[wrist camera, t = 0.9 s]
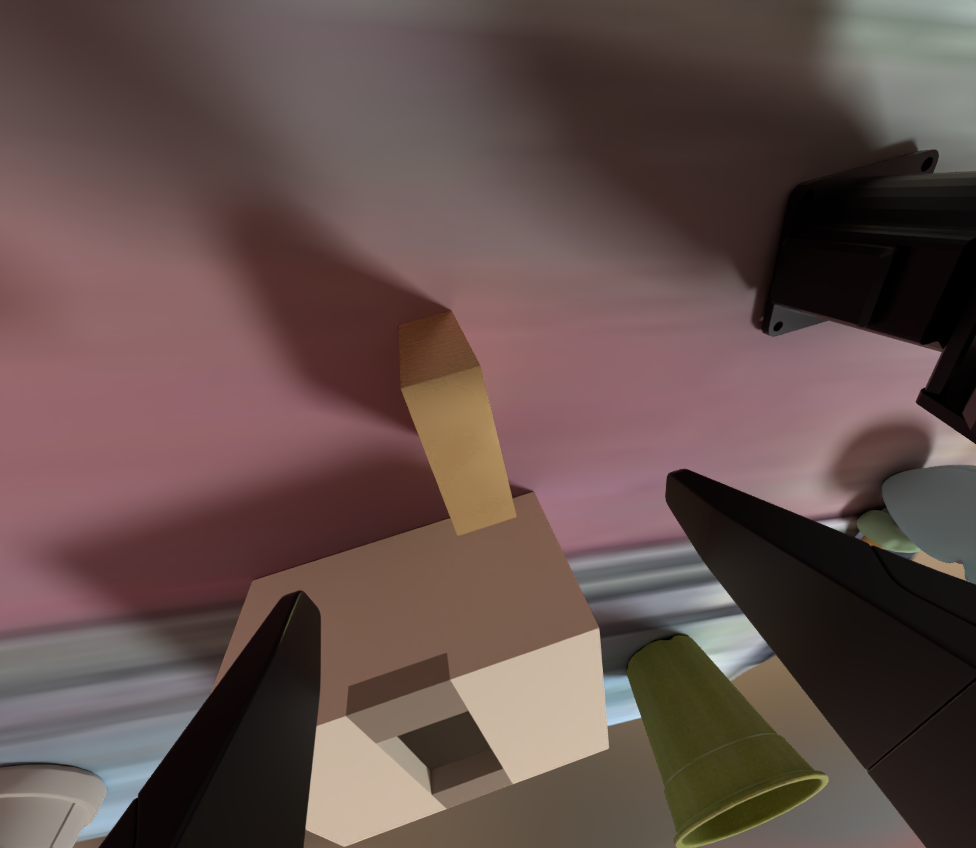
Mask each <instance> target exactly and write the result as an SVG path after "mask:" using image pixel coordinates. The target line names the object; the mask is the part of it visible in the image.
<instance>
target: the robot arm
mask: <svg viewBox="0 0 976 848" xmlns="http://www.w3.org/2000/svg"><path fill="white" fill-rule="evenodd" d="M938 157H939V154H938V151H937V150H924V151H918V152H914V153H911V154H907V155H903V156H900V157H896V158H892V159H889V160H885V161H881V162H877V163H874V164H870V165H866V166H863V167H859V168H855V169H852V170H848V171H844V172H841V173H837V174H833V175H829V176H826V177H822V178H818V179H815V180H811V181H807V182H804V183H801V184H799V185H797V186H796V187H795V188H794V189H793V191H792V193H791V194H790V197H789V200H788V204H787V209H786V214H785V219H784V224H783V228H782V233H781V238H780V243H779V248H778V252H777V257H776V262H775V267H774V272H773V276H772V281H771V286H770V291H769V296H768V300H767V305H766V310H765V315H764V320H763V324H762V332H763V333H764V334H767V335H770V336H772V337H773V336H778V335H782V334H785V333H788V332H792V331H795V330H798V329H802V328H805V327H808V326H812V325H815V324H818V323H822V322H825V321H828V320H829V321H832V322H836V323H839V324H843V325H847V326H850V327H854V328H857V329H861V330H865V331H868V332H872V333H875V334H879V335H882V336H886V337H890V338H893V339H897V340H900V341H904V342H908V343H911V344H915V345H918V346H922V347H925V348H929V349H933V350H936V351H940V352H942V353H941V355H940V357H939V360H938V362H937V364H936V366H935V368H934V370H933V373H932V375H931V377H930V379H929V381H928V383H927V385H926V388H923V389H921V391H920V393H919V395H918V397H917V399H916V403H917V404H918V405H920V406H921V407H922V408H924V409H925V410H927V411H928V412H930V413H931V414H933V415H934V416H936V417H937V418H938V419H940V420H941V421H943V422H944V423H946V424H947V425H949V426H950V427H952V428H953V429H954V430H956V431H957V432H959V433H960V434H962V435H963V436H965V437H966V438H968V439H969V440H971V441H972V442H973V443H975V444H976V171H971V172H950V173H933V172H934V169H935V167H936V164H937V161H938ZM804 194H805V196H804ZM803 196H804V199H803ZM774 325H775V326H774ZM665 498H666V502H667V504H668V506H669V508H670V510H671V511H672V513H673V514H674V516H675V518H676V519H677V521H678V522H679V524H680V526H681V527H682V529H683V530H684V532H685V534H686V535H687V537H688V538H689V540H690V542H691V543H692V545H693V546H694V548H695V549H696V551H697V553H698V554H699V556H700V557H701V559H702V560H703V561H704V563H705V564H706V565H707V567H708V568H709V569H710V571H711V572H712V573H713V575H714V576H715V577H716V578H717V580H718V581H719V582H720V584H721V585H722V586H723V587H724V589H725V590H726V591H727V593H728V594H729V595H730V596H731V598H732V599H733V600H734V602H735V603H736V604H737V605H738V607H739V608H740V609H741V611H742V612H743V613H744V614H745V616H746V617H747V618H748V619H749V621H750V622H751V623H752V625H753V626H754V627H755V628H756V630H757V631H758V632H759V634H760V635H761V636H762V637H763V639H764V640H765V641H766V643H767V644H768V645H769V646H770V648H771V649H772V650H773V652H774V653H775V654H776V655H777V657H778V658H779V659H780V660H781V662H782V663H783V664H784V666H785V667H786V668H787V669H788V671H789V672H790V673H791V674H792V676H793V677H794V678H795V680H796V681H797V682H798V683H799V685H800V686H801V687H802V689H803V690H804V691H805V692H806V694H807V695H808V696H809V698H810V699H811V700H812V701H813V703H814V704H815V705H816V707H817V708H818V709H819V710H820V712H821V713H822V714H823V716H824V717H825V718H826V720H827V721H828V722H829V723H830V725H831V726H832V727H833V728H834V730H835V731H836V732H837V734H838V735H839V736H840V737H841V739H842V740H843V741H844V742H845V744H846V745H847V746H848V748H849V749H850V750H851V751H852V753H853V754H854V755H855V757H856V758H857V759H858V760H859V762H860V763H861V764H862V766H863V767H864V768H865V769H866V770H867V772H868V774H869V775H870V776H871V778H872V779H873V780H874V781H875V783H876V784H877V785H878V787H879V788H880V789H881V790H882V792H883V793H884V794H885V796H886V797H887V798H888V799H889V801H890V802H891V803H892V805H893V806H894V807H895V808H896V810H897V811H898V812H899V814H900V815H901V816H902V817H903V819H904V820H905V821H906V823H907V824H908V825H909V826H910V828H911V829H912V830H913V831H914V833H915V834H916V835H917V836H918V838H919V839H920V840H921V842H922V843H923V844H924V845H925V847H926V848H976V584H973V583H970V582H968V581H965V580H962V579H959V578H956V577H954V576H951V575H948V574H945V573H943V572H940V571H937V570H935V569H932V568H930V567H927V566H925V565H922V564H919V563H917V562H914V561H912V560H909V559H907V558H904V557H902V556H899V555H897V554H894V553H892V552H889V551H887V550H884V549H882V548H879V547H877V546H874V545H871V546H870V545H869V544H868V543H867V542H864V541H862V540H859V539H857V538H855V537H852V536H850V535H847V534H845V533H842V532H840V531H837V530H835V529H833V528H830V527H828V526H825V525H823V524H820V523H818V522H815V521H813V520H810V519H808V518H806V517H803V516H801V515H798V514H796V513H793V512H791V511H788V510H786V509H784V508H781V507H779V506H776V505H774V504H771V503H769V502H766V501H764V500H761V499H759V498H757V497H754V496H752V495H749V494H747V493H744V492H742V491H739V490H737V489H735V488H732V487H730V486H727V485H725V484H722V483H720V482H717V481H715V480H712V479H710V478H708V477H705V476H703V475H700V474H698V473H695V472H693V471H690V470H688V469H680V470H676V471H673V472H670V473H669V474H668V475H667V480H666V493H665ZM320 686H321V614H320V611H319V609H318V607H317V606H316V605H315V604H314V602H313V601H312V600H311V599H310V598H309V596H308V595H307V594H306V593H305V592H304V591H302V590H298V591H295V592H292V593H289V594H286V595H284V596H282V597H281V598H280V600H279V601H278V602H277V604H276V605H275V606H274V608H273V609H272V611H271V612H270V613H269V615H268V616H267V617H266V619H265V620H264V622H263V623H262V624H261V626H260V627H259V628H258V630H257V631H256V633H255V634H254V635H253V637H252V638H251V639H250V641H249V642H248V643H247V645H246V646H245V648H244V649H243V650H242V652H241V653H240V654H239V656H238V657H237V659H236V660H235V661H234V663H233V664H232V665H231V667H230V668H229V670H228V671H227V672H226V674H225V675H224V676H223V678H222V679H221V681H220V682H219V683H218V685H217V686H216V687H215V689H214V690H213V692H212V693H211V694H210V696H209V697H208V698H207V700H206V701H205V703H204V704H203V705H202V707H201V708H200V709H199V711H198V712H197V714H196V715H195V716H194V718H193V719H192V720H191V722H190V723H189V725H188V726H187V727H186V729H185V730H184V731H183V733H182V734H181V736H180V737H179V738H178V740H177V741H176V742H175V744H174V745H173V747H172V748H171V749H170V751H169V752H168V753H167V755H166V756H165V758H164V759H163V760H162V762H161V763H160V764H159V766H158V767H157V769H156V770H155V771H154V773H153V774H152V775H151V777H150V778H149V780H148V781H147V782H146V784H145V785H144V786H143V788H142V789H141V791H140V792H139V794H138V798H136V799H134V800H133V801H132V803H131V804H130V805H129V807H128V808H127V810H126V811H125V812H124V814H123V815H122V816H121V818H120V819H119V821H118V822H117V823H116V825H115V826H114V827H113V829H112V830H111V831H110V833H109V834H108V835H107V837H106V838H105V840H104V841H103V842H102V844H101V845H100V846H99V848H304V839H305V829H306V820H307V811H308V801H309V792H310V783H311V774H312V764H313V755H314V746H315V737H316V727H317V718H318V709H319V699H320Z"/></svg>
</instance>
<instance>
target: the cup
mask: <svg viewBox="0 0 976 848" xmlns="http://www.w3.org/2000/svg"><path fill="white" fill-rule="evenodd" d="M106 794H107V791H106V788H105V785H104V783H103V781H102V779H101V778H100V777H98V776H97V775H95V774H94V773H92V772H90V771H86V770H83V769H79V768H76V767H69V766H61V765H19V766H10V767H1V768H0V848H72V847H73V845H74V843H75V841H76V839H77V837H78V835H79V833H80V831H81V829H82V828H84V827H85V826H87V825H88V824H90V823H91V822H92V821H93V819H94V818H95V816H96V814H97V812H98V810H99V808H100V806H101V804H102V802H103V800H104V798H105V796H106Z"/></svg>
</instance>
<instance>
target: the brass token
mask: <svg viewBox="0 0 976 848" xmlns="http://www.w3.org/2000/svg"><path fill="white" fill-rule="evenodd" d="M398 327H399V355H400V382H401V391H402V393H403V396H404V399H405V401H406V404H407V406H408V409H409V412H410V414H411V417H412V419H413V422H414V424H415V427H416V430H417V432H418V435H419V437H420V440H421V443H422V445H423V448H424V450H425V453H426V456H427V458H428V461H429V463H430V466H431V468H432V471H433V474H434V476H435V479H436V481H437V484H438V487H439V489H440V492H441V494H442V497H443V500H444V502H445V505H446V507H447V510H448V513H449V515H450V518H451V520H452V523H453V525H454V528H455V531H456V533H457V536H459V535H463V534H466V533H469V532H472V531H475V530H478V529H481V528H484V527H487V526H491V525H494V524H497V523H500V522H503V521H506V520H509V519H512V518H515V517H517V515H516V511H515V507H514V503H513V499H512V495H511V491H510V486H509V482H508V478H507V474H506V470H505V466H504V462H503V457H502V453H501V449H500V445H499V441H498V437H497V433H496V428H495V424H494V420H493V416H492V412H491V408H490V404H489V399H488V395H487V391H486V387H485V383H484V379H483V374H482V370H481V366H480V364H479V362H478V360H477V358H476V356H475V354H474V353H473V351H472V349H471V347H470V345H469V343H468V341H467V339H466V337H465V335H464V333H463V332H462V330H461V328H460V326H459V324H458V322H457V320H456V318H455V316H454V314H453V312H452V310H451V311H448V312H444V313H440V314H437V315H433V316H430V317H426V318H422V319H419V320H415V321H411V322H408V323H404V324H401V325H398Z"/></svg>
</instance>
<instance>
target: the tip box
mask: <svg viewBox="0 0 976 848" xmlns="http://www.w3.org/2000/svg"><path fill="white" fill-rule="evenodd" d="M512 499H513V503H514V507H515V511H516V515H517V517H515V518H512V519H509V520H506V521H503V522H500V523H497V524H494V525H491V526H487V527H484V528H481V529H478V530H475V531H472V532H469V533H466V534H463V535H459V536H457V533H456V531H455V528H454V525H453V523H452V520H451V518H449V519H446V520H443V521H439V522H436V523H433V524H430V525H427V526H424V527H420V528H417V529H414V530H411V531H408V532H405V533H401V534H398V535H395V536H392V537H389V538H386V539H383V540H379V541H376V542H373V543H370V544H367V545H364V546H360V547H357V548H354V549H351V550H348V551H345V552H341V553H338V554H335V555H332V556H329V557H326V558H322V559H319V560H316V561H313V562H310V563H307V564H304V565H300V566H297V567H294V568H291V569H288V570H285V571H281V572H278V573H275V574H272V575H269V576H266V577H262V578H259V579H256V580H253V581H252V583H251V586H250V589H249V591H248V594H247V597H246V599H245V602H244V605H243V608H242V610H241V613H240V616H239V618H238V621H237V624H236V626H235V629H234V632H233V635H232V637H231V640H230V643H229V645H228V648H227V651H226V653H225V656H224V659H223V662H222V664H221V667H220V670H219V672H218V675H217V678H216V680H215V683H214V686H213V689H212V691H211V693H212V692H213V690H214V689H215V687H216V686H217V685H218V683H219V682H220V681H221V679H222V678H223V676H224V675H225V674H226V672H227V671H228V670H229V668H230V667H231V665H232V664H233V663H234V661H235V660H236V659H237V657H238V656H239V654H240V653H241V652H242V650H243V649H244V648H245V646H246V645H247V643H248V642H249V641H250V639H251V638H252V637H253V635H254V634H255V633H256V631H257V630H258V628H259V627H260V626H261V624H262V623H263V622H264V620H265V619H266V617H267V616H268V615H269V613H270V612H271V611H272V609H273V608H274V606H275V605H276V604H277V602H278V601H279V600H280V598H281V597H282V596H284V595H286V594H289V593H292V592H295V591H298V590H302V591H304V592H305V593H306V594H307V595H308V596H309V598H310V599H311V600H312V601H313V602H314V604H315V605H316V606H317V607H318V609H319V611H320V614H321V686H320V699H319V709H318V718H317V727H316V737H315V746H314V755H313V764H312V774H311V783H310V792H309V801H308V811H307V820H306V830H308V831H311V832H312V833H315V834H317V835H319V836H321V837H324V838H326V839H328V840H330V841H332V842H335V843H337V844H339V845H341V846H343V847H345V846H348V845H351V844H353V843H356V842H359V841H362V840H364V839H367V838H370V837H372V836H375V835H377V834H380V833H383V832H385V831H388V830H391V829H394V828H396V827H399V826H402V825H404V824H407V823H410V822H412V821H415V820H418V819H421V818H423V817H426V816H429V815H431V814H434V813H437V812H439V811H442V810H445V809H448V808H450V807H453V806H456V805H458V804H461V803H464V802H466V801H469V800H472V799H474V798H477V797H479V796H482V795H485V794H488V793H490V792H493V791H496V790H499V789H501V788H504V787H507V786H509V785H512V784H514V783H517V782H520V781H522V780H525V779H528V778H531V777H533V776H536V775H539V774H541V773H544V772H547V771H549V770H552V769H555V768H558V767H560V766H563V765H566V764H568V763H571V762H574V761H576V760H579V759H582V758H585V757H587V756H590V755H593V754H595V753H598V752H601V751H603V750H606V749H609V744H608V732H607V718H606V706H605V693H604V681H603V668H602V656H601V643H600V631H599V626H598V624H597V622H596V620H595V618H594V616H593V614H592V612H591V610H590V608H589V605H588V603H587V601H586V599H585V597H584V595H583V593H582V591H581V589H580V587H579V585H578V582H577V580H576V578H575V576H574V574H573V572H572V570H571V568H570V566H569V564H568V562H567V560H566V557H565V555H564V553H563V551H562V549H561V547H560V545H559V543H558V541H557V539H556V537H555V534H554V532H553V530H552V528H551V526H550V524H549V522H548V520H547V518H546V516H545V514H544V511H543V509H542V507H541V505H540V503H539V501H538V499H537V497H536V495H535V493H534V492H531V493H528V494H525V495H522V496H518V497H515V498H512Z"/></svg>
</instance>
